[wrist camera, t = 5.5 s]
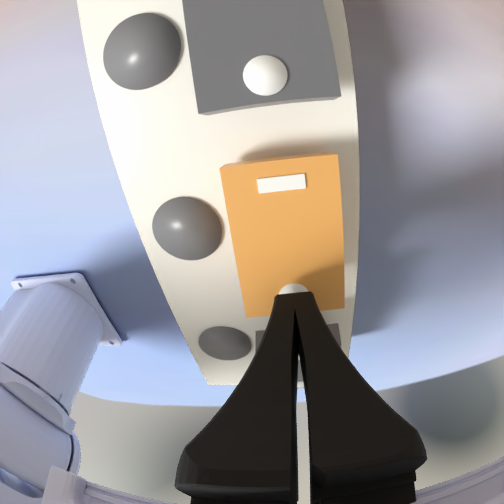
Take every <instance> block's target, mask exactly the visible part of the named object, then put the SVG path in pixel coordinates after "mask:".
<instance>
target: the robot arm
mask: <svg viewBox="0 0 504 504" xmlns="http://www.w3.org/2000/svg"><path fill="white" fill-rule="evenodd" d="M11 285H12V287H13V288H14V290H15V292H14V293H13V294H12V296H11V297H10V298H9V300H8V301H7V302H6V304H5V305H4V307H3V308H2V309H1V311H0V504H175V503H169V502H163V501H158V500H153V499H149V498H144V497H140V496H136V495H132V494H128V493H124V492H121V491H117V490H113V489H110V488H107V487H103V486H100V485H97V484H94V483H91V482H88V481H86V480H85V479H83V478H81V477H79V476H77V474H78V471H79V468H80V462H81V452H80V444H79V440H78V437H77V436H76V434H75V433H74V432H73V429H74V427H75V424H76V422H75V421H74V420H73V419H71V418H70V417H69V414H70V412H71V409H72V407H73V404H74V402H75V399H76V396H77V394H78V391H79V389H80V386H81V384H82V382H83V379H84V377H85V374H86V372H87V370H88V367H89V365H90V363H91V360H92V358H93V356H94V353H95V351H96V349H97V347H98V345H102V346H121V345H122V339H121V338H120V336H119V335H118V333H117V332H116V330H115V329H114V327H113V326H112V324H111V322H110V321H109V319H108V318H107V316H106V314H105V313H104V311H103V309H102V308H101V306H100V304H99V303H98V301H97V299H96V297H95V296H94V294H93V292H92V290H91V289H90V287H89V285H88V283H87V281H86V280H85V278H84V276H83V275H82V274H80V273H69V274H58V275H48V276H38V277H27V278H17V279H13V280H12V281H11ZM298 357H299V358H300V364H301V370H302V377H303V383H304V389H305V395H306V402H307V411H308V430H309V455H310V502H311V503H310V504H504V456H503V457H501V458H499V459H497V460H495V461H493V462H491V463H489V464H487V465H484V466H482V467H480V468H478V469H475V470H473V471H471V472H468V473H466V474H463V475H461V476H458V477H455V478H453V479H450V480H447V481H444V482H442V483H439V484H436V485H433V486H429V487H426V488H423V489H420V490H416V491H415V486H414V482H415V481H416V473H415V470H416V469H418V468H419V467H420V466H421V465H422V464H424V462H425V461H426V460H427V456H426V450H425V447H424V444H423V442H422V439H421V437H420V435H419V433H418V431H417V430H416V429H415V428H414V427H413V426H412V425H410V424H409V423H408V422H407V421H406V420H404V419H403V418H402V417H401V416H400V415H399V414H397V413H396V412H395V411H394V410H393V409H392V408H391V407H390V406H389V405H388V404H387V403H386V402H385V401H384V400H383V399H382V398H381V397H380V396H379V395H378V394H377V393H376V392H375V391H374V390H373V388H372V387H371V386H370V385H369V384H368V383H367V382H366V381H365V379H364V378H363V377H362V376H361V375H360V373H359V372H358V371H357V370H356V368H355V367H354V366H353V364H352V363H351V362H350V360H349V359H348V358H347V356H346V355H345V353H344V352H343V350H342V349H341V347H340V346H339V344H338V343H337V341H336V340H335V338H334V336H333V335H332V333H331V331H330V329H329V328H328V326H327V324H326V322H325V320H324V318H323V316H322V314H321V312H320V310H319V308H318V306H317V303H316V300H315V298H314V294H313V293H312V292H311V291H308V292H298V293H287V294H277V295H276V296H275V297H274V303H273V308H272V312H271V315H270V318H269V321H268V324H267V327H266V330H265V332H264V335H263V337H262V340H261V342H260V344H259V347H258V349H257V351H256V353H255V355H254V357H253V359H252V361H251V363H250V365H249V367H248V369H247V370H246V372H245V374H244V375H243V377H242V379H241V380H240V382H239V384H238V385H237V387H236V388H235V390H234V391H233V393H232V394H231V395H230V397H229V398H228V400H227V401H226V402H225V404H224V405H223V406H222V407H221V409H220V410H219V411H218V412H217V414H216V415H215V416H214V417H213V418H212V420H211V421H210V422H209V423H208V424H207V425H206V427H205V428H204V429H203V430H202V431H201V432H200V433H199V434H198V435H197V436H196V437H195V438H194V439H193V440H192V441H191V442H190V443H189V444H188V445H187V446H186V447H185V448H184V450H183V453H182V455H181V458H180V461H179V464H178V467H177V473H176V479H175V487H176V489H178V490H179V491H181V492H183V493H185V494H187V495H189V496H191V504H297V501H298V457H297V456H298V455H297V423H296V400H297V381H298Z"/></svg>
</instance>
